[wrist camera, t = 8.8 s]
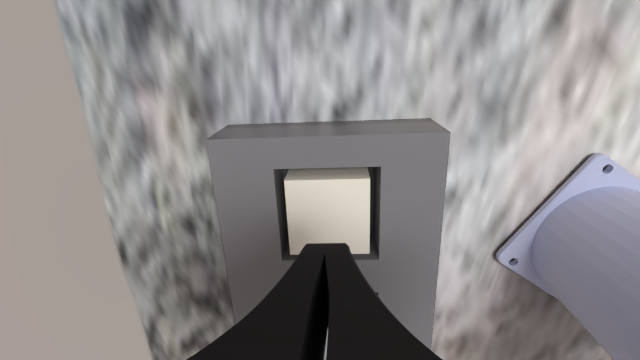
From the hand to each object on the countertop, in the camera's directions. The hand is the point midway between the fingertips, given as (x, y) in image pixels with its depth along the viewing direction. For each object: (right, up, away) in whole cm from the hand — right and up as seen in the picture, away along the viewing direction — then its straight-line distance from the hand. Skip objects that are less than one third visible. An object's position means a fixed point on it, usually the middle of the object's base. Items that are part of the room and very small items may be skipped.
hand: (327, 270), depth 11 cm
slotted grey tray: (+1, -4, +12) cm, 12 cm away
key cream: (0, +2, +8) cm, 8 cm away
